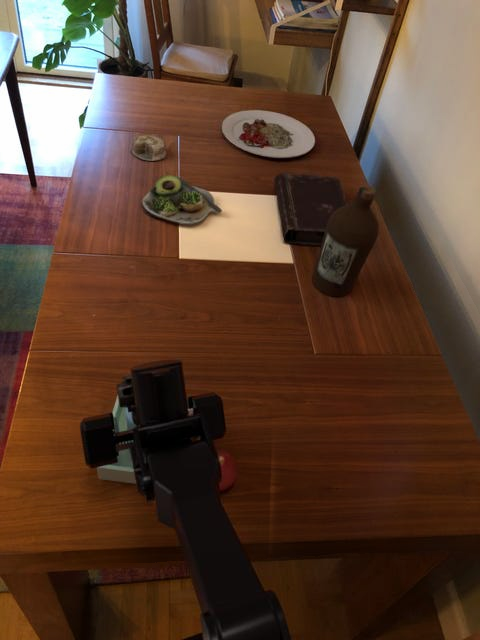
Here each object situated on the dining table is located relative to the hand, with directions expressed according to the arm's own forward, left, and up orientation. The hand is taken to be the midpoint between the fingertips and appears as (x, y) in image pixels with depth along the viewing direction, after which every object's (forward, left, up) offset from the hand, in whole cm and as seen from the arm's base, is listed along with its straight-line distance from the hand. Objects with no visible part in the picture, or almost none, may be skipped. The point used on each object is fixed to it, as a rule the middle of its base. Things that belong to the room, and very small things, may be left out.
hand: (147, 413), depth 71 cm
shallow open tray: (-1, 0, -8) cm, 8 cm away
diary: (+70, -29, -8) cm, 76 cm away
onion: (-5, -12, -8) cm, 15 cm away
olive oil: (+45, -33, -8) cm, 57 cm away
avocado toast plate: (+66, +6, -8) cm, 67 cm away
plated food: (+110, -16, -8) cm, 111 cm away
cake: (+89, +18, -8) cm, 91 cm away
